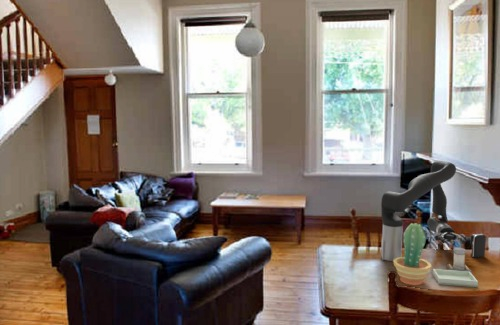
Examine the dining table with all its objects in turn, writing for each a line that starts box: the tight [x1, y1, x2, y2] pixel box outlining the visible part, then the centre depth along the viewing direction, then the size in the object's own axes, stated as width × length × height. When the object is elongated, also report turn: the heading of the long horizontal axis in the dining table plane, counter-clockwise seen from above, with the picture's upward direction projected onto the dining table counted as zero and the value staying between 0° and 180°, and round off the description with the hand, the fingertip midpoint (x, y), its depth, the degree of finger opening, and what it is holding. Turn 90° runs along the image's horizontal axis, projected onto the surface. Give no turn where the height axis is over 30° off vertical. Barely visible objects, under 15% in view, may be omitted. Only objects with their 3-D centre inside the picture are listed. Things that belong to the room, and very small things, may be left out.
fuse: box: [452, 246, 466, 270], centre depth 185 cm, size 5×5×10 cm
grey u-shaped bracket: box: [447, 263, 473, 273], centre depth 185 cm, size 8×9×2 cm
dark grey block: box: [469, 233, 487, 259], centre depth 204 cm, size 7×4×11 cm, turn 107°
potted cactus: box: [392, 222, 432, 286], centre depth 173 cm, size 15×15×25 cm
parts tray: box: [432, 268, 479, 288], centre depth 174 cm, size 15×11×2 cm
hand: (453, 241), depth 196 cm, fingers open, 8 cm apart
